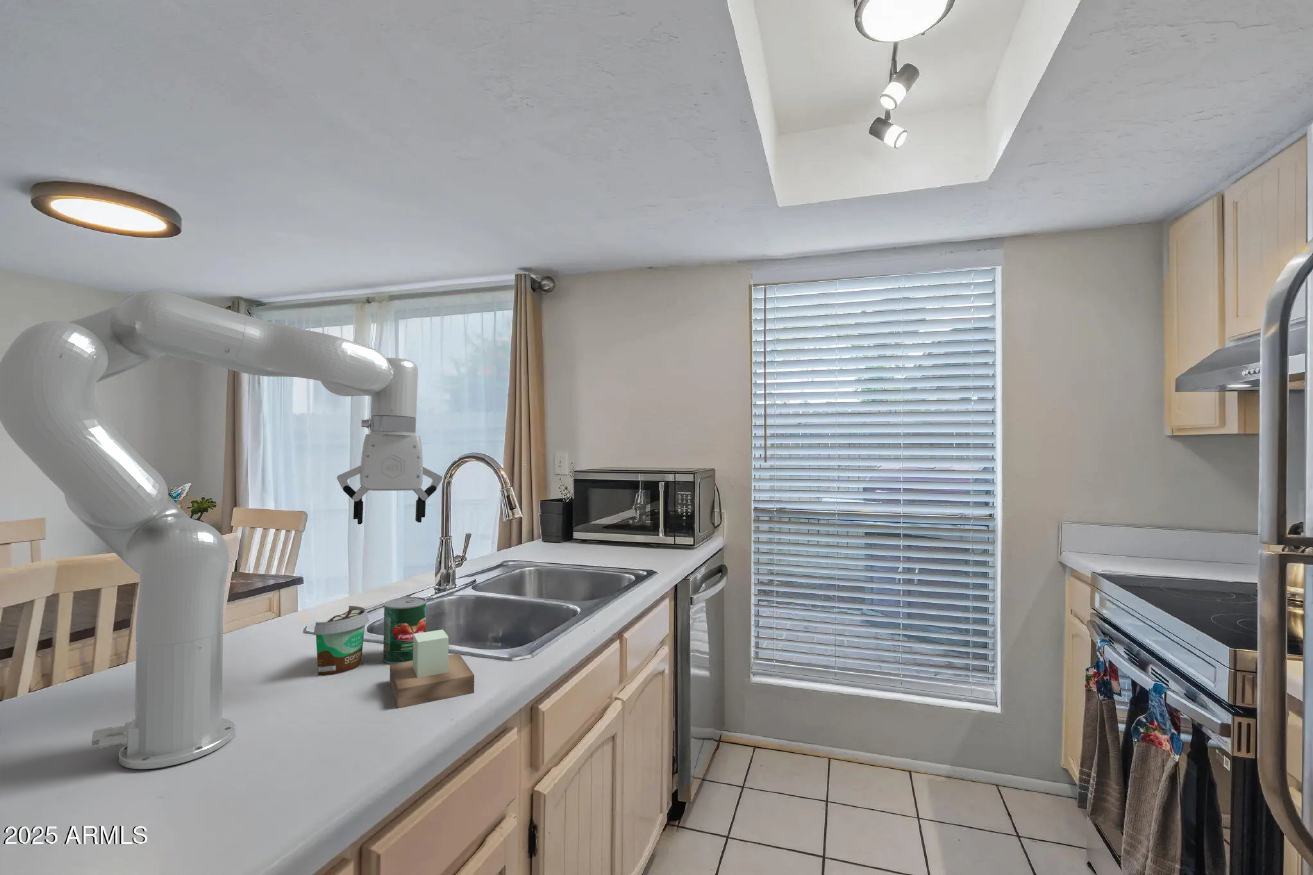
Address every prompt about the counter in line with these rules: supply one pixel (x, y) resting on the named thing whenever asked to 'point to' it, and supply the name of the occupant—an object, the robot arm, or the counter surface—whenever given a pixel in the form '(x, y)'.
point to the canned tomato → (402, 627)
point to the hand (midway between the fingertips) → (389, 522)
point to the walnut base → (430, 682)
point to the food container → (340, 641)
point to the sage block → (430, 653)
